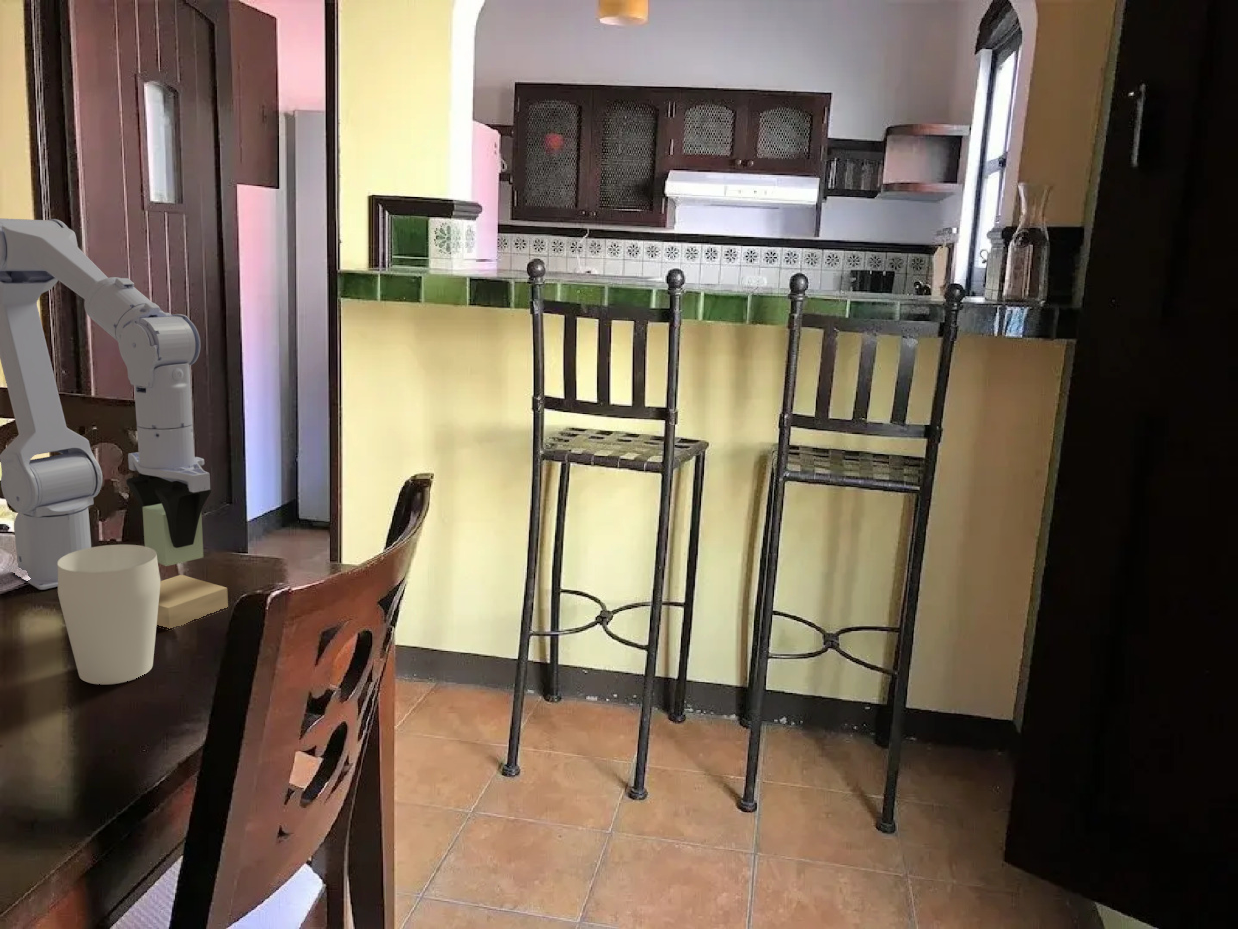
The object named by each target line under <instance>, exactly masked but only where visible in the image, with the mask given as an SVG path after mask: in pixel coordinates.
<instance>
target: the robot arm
mask: <svg viewBox="0 0 1238 929" xmlns="http://www.w3.org/2000/svg"><path fill="white" fill-rule="evenodd" d="M58 282H60V283H62V284H63V285H64V286H66V288H69V289H70V290H71V291H73V292H74V293H75V294H77V295H78V296H79V297H81V298H82V299H83V300H84V302H83V303H84V305H83V306H84V311H85V313H86V315H87V316H88V317H89V318H90V319H91V320H92V321H94V323H96V324H97V325H98V326H100V328H101V329H103V330H104V331H105V332H107V334H108V335H110V337H112V338H113V339H114V340H116V342H117V344H118V351H119V354H120V356H121V359H122V361H123V362H124V364H125V366H126V370H127V379H128V380H129V383H130V385H131V386H133V388H134V402H135V404H134V406H135V420H136V433H137V434H136V435H137V445H138V446H137V449H138V452H131V453H127V458H128V459H127V461H128V469H129V470H130V471H135V472H136V471H137V472H138V473H139V474H137V476H136V477H135V476H134V477H129V478H126V479H125V480H126V481H125V483H126V485H127V487H128V488H129V489H130V491H131V492H132V493H133V495H134V497H135V499H136V501H137V502H138V505H139V507H140V510H141V512H142V513H143V507H145V506H150V505H156V504H161V503H162V506H163V508H164V511H165V514H166V517H167V521H168V527H169V533H170V538H171V541H172V544H173V547H175V548H180V547H184V546H189V545H193V543H194V539H195V535H196V530H197V525H198V521H199V517H200V514H201V515H202V510H203V508H204V506H205V503H206V502H207V499H208V497H209V496H210V495H211V493H212V486H211V479H210V478H211V477H210V472H208V471H205V470H204V468H202V466H204V465H205V459H204V458H203V457H199V456H195V445H194V444H195V440H194V439H195V438H194V427H193V425H194V424H193V406H192V405H193V403H192V402H193V401H192V386H191V368H190V367H191V366H192V365H193V364H195V363H196V362H197V360H198V358H199V356H200V352H201V345H202V344H201V337H200V334H199V330H198V329H197V326H196V325H195V324H194V323H193V322H192V321H191V319H190V318H189V317H188V316H187V315H186V314H183V313H182V314H181V313H176V314H174V313H173V314H172V313H170V312H165V311H163V310H162V309H161V308H160V307H161V306H159V305H158V304H156V302H153V301H151V300H150V299H149V298H148V297H147V296H145V295H144V294H143V293H142V292H140V290H138V289H137V288H136V287H135V282H133V281H132V280H131V279H129V277H117V276H112V277H108V276H107V275H106V274H105V273H104V272H103V271H102V270H101V269H100V268H99V267H98V266H97V265H96V264H95V263H94V262H93V261H92V260H91V259H90V258H89V257H88V256H87V255H86V254H85V253H84V251H82V250H81V248H80V247H79V246H78V241H77V236H76V233H75V231H74V230H72V229H71V228H69V227H68V225H66V224H65V223H64V222H63V221H61V220H60V219H57V218H51V219H47V220H46V219H44V220H43V219H23V218H22V219H21V218H3V217H2V218H0V363H1V368H2V371H3V375H4V376H3V377H4V380H5V384H6V387H7V392H8V396H9V400H10V404H11V409H12V412H13V416H14V420H15V424H16V428H17V432H18V435H17V436H16V437H15V438H14V439H13V440H12V441H11V442H10V443H9V445H7V446H6V448H4V450H2V451H1V453H0V466H1V476H0V487H1V491H2V495H3V497H4V499H5V501H6V503H7V504H8V505H9V506H11V508H12V509H13V510H14V511H15V512H16V513H17V515H16V517H14V518H15V519H14V524H13V530H14V541H15V550H16V552H15V553H16V559H17V560H16V561H17V562H16V563H17V567H19V568H21V569H22V570H26V571H27V573H28V576H29V577H30V578H31V579H30V580H28V582H27V583H28V584H30V585H31V586H33V587H34V588H36V589H38V590H41V591H42V590H48V589H52V588H56V587H57V588H58V561H59V559H60V558H62V557H63V556H65V555H67V554H69V553H72V552H75V551H78V550H82V549H87V548H92V539H91V525H90V514H89V506H92V505H94V504H95V503H94V498H95V497H97V496H98V494H100V490H101V488H102V485H103V473H102V472H103V471H102V468H101V466H100V464H99V462H98V460H97V459H96V457H95V455H94V453H93V451H92V448H91V444H90V440H88V438H86V437H84V436H83V435H80V434H79V433H77V432H76V431H73V430H72V429H70V428H68V427H67V423H66V418H65V414H64V411H63V406H62V403H61V399H60V395H59V390H58V385H57V382H56V379H55V375H54V373H55V372H54V370H53V367H52V361H51V357H50V354H49V349H48V346H47V341H46V338H45V337H46V336H45V332H44V329H43V324H42V320H41V316H40V312H39V308H38V300H39V299H40V297H41V295H42V294H44V293H47V292H48V291H50V290H52V289H53V287H54V286H55V285H57V284H58ZM48 453H59V454H56V455H52V456H46V457H40V458H35V459H33V457H35V456H37V455H43V454H48Z"/></svg>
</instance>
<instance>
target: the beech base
mask: <svg viewBox="0 0 1238 929" xmlns="http://www.w3.org/2000/svg"><path fill="white" fill-rule="evenodd" d="M228 600H229V598H228V587H225V586H223V585H218V584H216V583H215V584H214V583H212V582H208V581H206V580H205V581H204V580H202V579H201V580H200V579H199V578H198V579H197V578H194V577H190V576H187V575H184V574H179V575H175V576H172V577H170V578H166V579H163V580H160V594H159V605H158V615H157V625H159V626H163V627H167V628H169V629H170V628H173V627H176V626H180V627H182V626H184V624H185V625H187V624H186V623H188V622H190V621H192V620H194V619H199V618H201V617H203V616H206V615H207V614H210V613H214V612H216V611H219V610H220V609H224V608H227V607H228V608H229V601H228ZM201 619H202V618H201ZM199 620H200V619H199ZM188 624H189V623H188ZM181 625H182V626H181Z"/></svg>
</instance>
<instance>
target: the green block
mask: <svg viewBox="0 0 1238 929" xmlns="http://www.w3.org/2000/svg"><path fill="white" fill-rule="evenodd" d="M202 517H203V516H202V513H201V514H200V517H199V521H198V525H197V530H196V535H195V539H194V543H193V545H189V546H184V547H180V548H175V547H173V544H172V541H171V538H170V533H169V527H168V521H167V517H166V514H165V511H164V508H163V506H162V503H161V504H156V505H150V506H145V507H143V512H142V520H143V536H144V537H143V539H144V540H143V541H144V546H145V547H148V548H151V549H153V550H155V551H156V553H157V561H158V564H160V565H162V566H164V567H169V566H173V565H177V564H182V563H185V562H190V561H194V560H195V561H196V560H198V559H203V558H204V542H203V540H204V539H203V538H204V537H203V520H202Z"/></svg>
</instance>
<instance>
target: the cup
mask: <svg viewBox="0 0 1238 929" xmlns="http://www.w3.org/2000/svg"><path fill="white" fill-rule="evenodd" d="M160 581H161V576H160V570H159V563H158V561H157V553H156V551H155V550H153V549H151V548H148V547H145V545H140V544H139V545H136V544H107V545H98V546H91V548H87V549H82V550H78V551H75V552H72V553H69V554H67V555H65V556H63V557H62V558H60V559H59V561H58V586H57V594H58V595H57V596H58V600H59V604H60V607H61V611H62V615H63V619H64V623H65V626H66V627H65V628H66V631H67V634H68V640H69V642H70V646H71V650H72V654H73V657H74V662H75V665H76V669H77V673H78V677H79V679H81V680H82V681H84V682H86V683H88V684H93V685H99V684H100V685H102V686H103V685H116V684H118V685H119V684H123V683H127V681H128V682H130V681H133V680H137V679H138V677H139V678H141V677H143V676H144V674H145V675H146V674H147V673H149V672H151V670H152V668H153V667H154V658H155V657H154V656H155V655H154V654H155V648H156V647H155V645H156V634H157V627H158V626H157V615H158V605H159V594H160ZM142 675H143V676H142ZM140 676H141V677H140ZM136 678H137V679H136Z"/></svg>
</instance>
